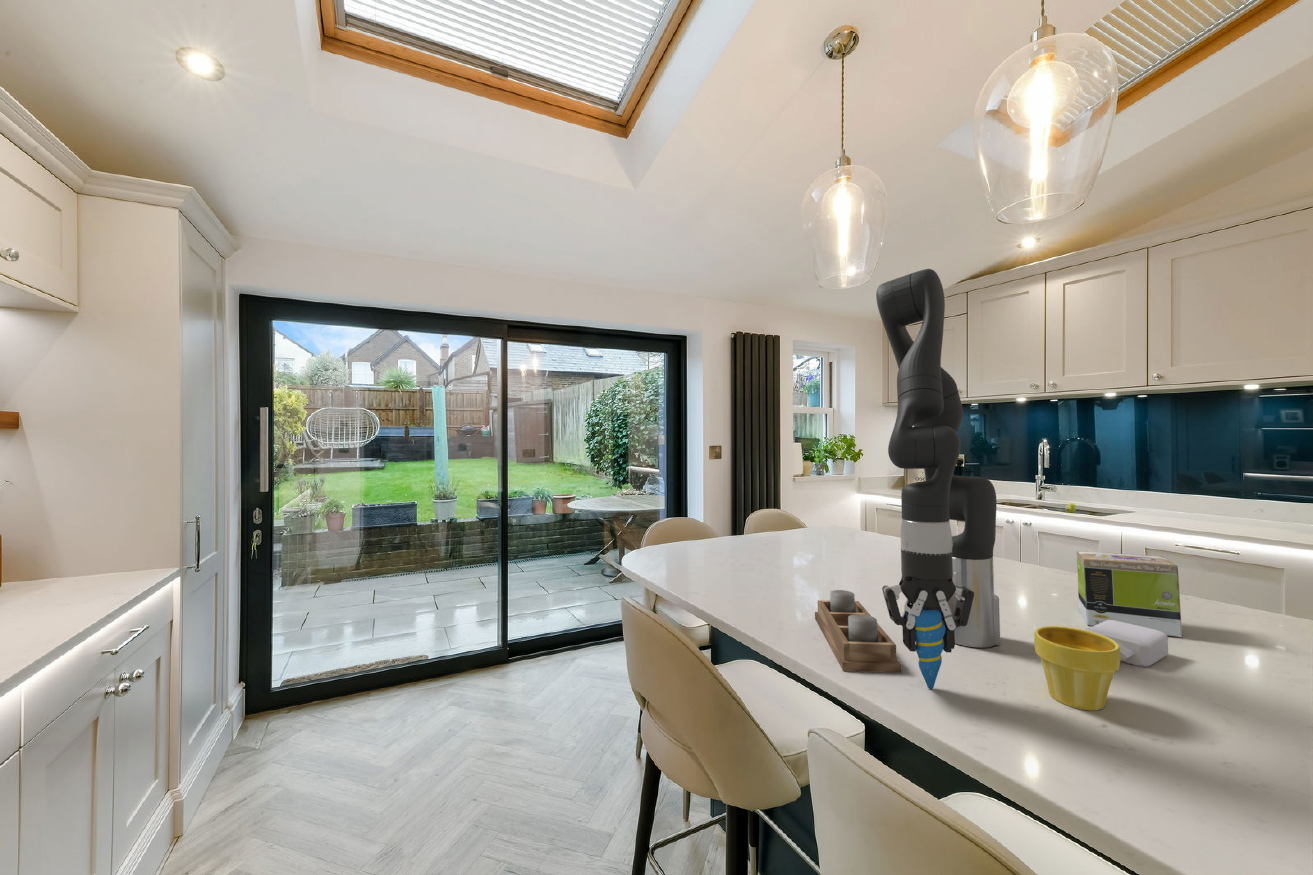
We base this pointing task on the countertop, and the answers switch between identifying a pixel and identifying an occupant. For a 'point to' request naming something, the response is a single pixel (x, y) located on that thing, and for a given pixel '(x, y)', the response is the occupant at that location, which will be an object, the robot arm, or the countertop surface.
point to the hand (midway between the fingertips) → (928, 649)
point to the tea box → (1129, 590)
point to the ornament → (929, 643)
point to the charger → (1135, 642)
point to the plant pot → (1077, 665)
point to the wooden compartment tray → (855, 635)
